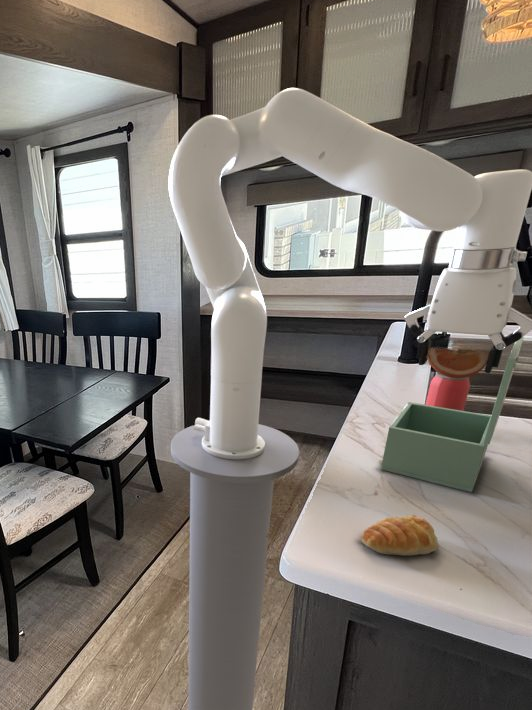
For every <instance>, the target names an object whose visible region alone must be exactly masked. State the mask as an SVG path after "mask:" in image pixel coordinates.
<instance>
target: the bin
mask: <svg viewBox="0 0 532 710" xmlns="http://www.w3.org/2000/svg"><path fill="white" fill-rule="evenodd" d="M491 415H492V414H485V413H479V412H478V413H477V412H471V411H466V410H464V411H460V410H454V409H448V408H442V407H436V406H430V405H426V404H423V403H417V402H411V401H408V402H407V404H406V405H405V406H404V407H403V409H402V410H401V411H400V413H399V414H398V415H397V417H396V418H395V419H394V421H393V422H392V423H391V424H390V426H389V427H388V432H387V435H386V441H385V446H384V452H383V457H382V460H381V467H380V470H382V471H386V472H390V473H393V474H397V475H400V476H405V477H409V478H413V479H417V480H422V481H425V482H429V483H433V484H437V485H441V486H445V487H449V488H453V489H456V490H460V491H464V492H468V493H473V490H474V488H475V485H476V483H477V479H478V477H479V474H480V471H481V468H482V464H483V462H484V459H485V456H486V453H487V449H488V446H489V444H484V443H483V442H484V439H485V435H486V432H487V429H488V425H489V422H490V419H491Z"/></svg>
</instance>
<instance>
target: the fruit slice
mask: <svg viewBox="0 0 532 710" xmlns="http://www.w3.org/2000/svg"><path fill="white" fill-rule="evenodd" d="M489 353H490V350H485V349H470V348H469V349H460V348H458V349H457V350H456V349H450V348H443V347H431V346H430V347H429V348H428V354H427V356H426V358H428V360H427V362H428V364H429V366H430V367H431V368H432V369H433V370H434V371H436V372H439V373H440V374H442V375H444V376H446V377H449V378H455V379H461V378H467V377H469V378H470V377H472V376H475V375H477V374H478V373H480V372H481V371H482V370H483V369H485V368H486V364H487V360H488V357H489Z"/></svg>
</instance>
